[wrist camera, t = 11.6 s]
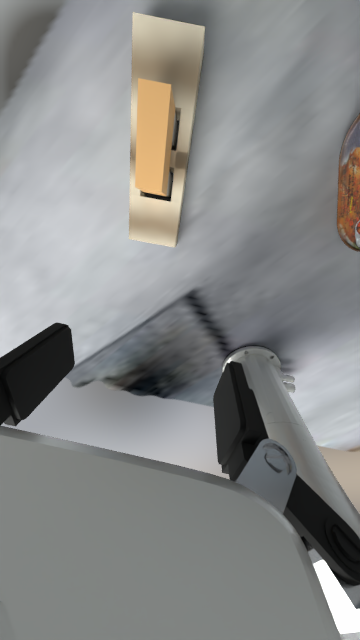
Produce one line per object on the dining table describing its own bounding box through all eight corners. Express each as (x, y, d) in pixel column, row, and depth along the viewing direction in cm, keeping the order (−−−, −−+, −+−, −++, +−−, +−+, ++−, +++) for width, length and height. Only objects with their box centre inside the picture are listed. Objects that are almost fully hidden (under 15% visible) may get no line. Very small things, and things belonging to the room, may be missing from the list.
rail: (140, 39, 20) (132, 12, 17) (203, 52, 20) (205, 26, 17) (134, 237, 29) (129, 239, 27) (176, 245, 30) (175, 247, 27)
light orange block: (154, 119, 23) (138, 78, 16) (178, 123, 23) (171, 84, 16) (149, 195, 26) (135, 187, 20) (169, 198, 27) (161, 191, 20)
